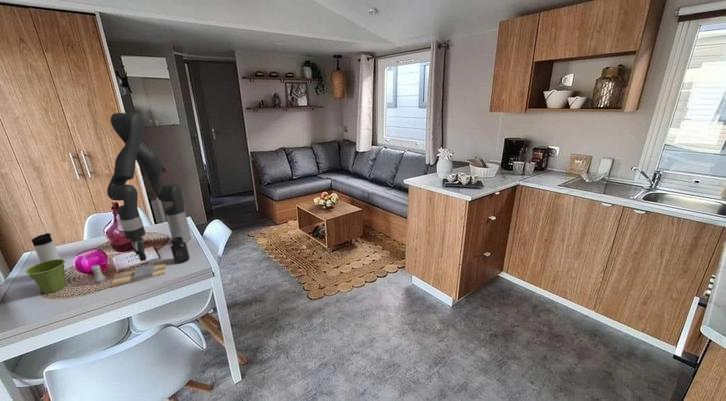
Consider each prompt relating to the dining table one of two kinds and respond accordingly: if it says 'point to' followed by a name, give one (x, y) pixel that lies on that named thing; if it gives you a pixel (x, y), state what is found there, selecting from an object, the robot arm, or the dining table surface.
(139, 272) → the grey picture frame
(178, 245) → the supplement bottle
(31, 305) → the dining table surface
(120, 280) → the mat
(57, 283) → the plant pot
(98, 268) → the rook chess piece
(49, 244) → the travel mug
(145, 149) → the robot arm
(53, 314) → the dining table surface
